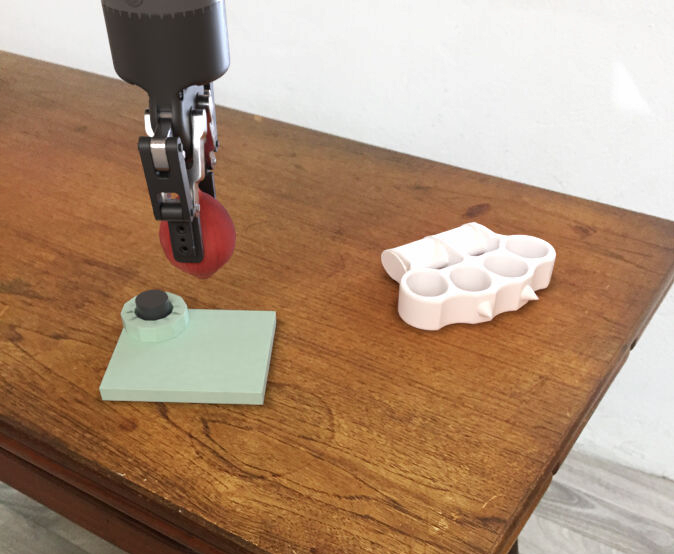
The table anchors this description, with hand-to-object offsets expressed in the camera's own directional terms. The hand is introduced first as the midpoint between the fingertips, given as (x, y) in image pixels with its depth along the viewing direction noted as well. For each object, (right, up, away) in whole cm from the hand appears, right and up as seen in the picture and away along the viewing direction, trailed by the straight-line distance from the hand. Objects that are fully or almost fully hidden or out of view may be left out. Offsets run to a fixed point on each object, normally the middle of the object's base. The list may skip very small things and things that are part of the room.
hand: (197, 237), depth 58 cm
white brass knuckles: (+24, 0, +20) cm, 31 cm away
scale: (-2, -8, +11) cm, 14 cm away
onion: (0, -3, +3) cm, 4 cm away
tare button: (-6, -4, +12) cm, 14 cm away
